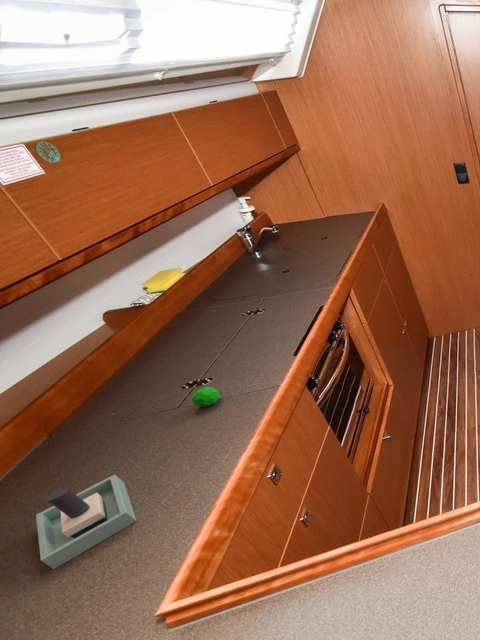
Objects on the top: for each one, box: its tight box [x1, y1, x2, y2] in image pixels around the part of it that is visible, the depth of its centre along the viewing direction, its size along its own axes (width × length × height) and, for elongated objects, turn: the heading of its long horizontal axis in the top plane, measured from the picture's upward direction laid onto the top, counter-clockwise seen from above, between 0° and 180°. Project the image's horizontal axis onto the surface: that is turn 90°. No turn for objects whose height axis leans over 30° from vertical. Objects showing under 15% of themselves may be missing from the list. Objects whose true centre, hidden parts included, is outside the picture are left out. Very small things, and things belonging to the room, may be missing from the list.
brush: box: [46, 487, 108, 538], centre depth 79 cm, size 7×5×9 cm
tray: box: [35, 474, 137, 570], centre depth 81 cm, size 15×11×3 cm
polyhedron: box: [191, 386, 220, 408], centre depth 108 cm, size 5×5×5 cm
